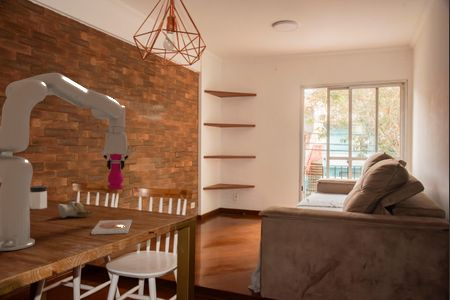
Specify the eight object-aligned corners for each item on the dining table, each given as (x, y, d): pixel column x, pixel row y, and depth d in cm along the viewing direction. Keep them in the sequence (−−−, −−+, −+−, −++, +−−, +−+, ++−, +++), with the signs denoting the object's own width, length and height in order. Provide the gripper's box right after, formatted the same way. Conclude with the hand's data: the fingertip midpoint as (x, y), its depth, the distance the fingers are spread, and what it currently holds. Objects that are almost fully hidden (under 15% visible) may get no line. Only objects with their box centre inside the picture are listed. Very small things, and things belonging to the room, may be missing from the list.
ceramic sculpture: (56, 198, 171) (87, 198, 180) (55, 216, 171) (86, 214, 180) (60, 202, 163) (93, 201, 172) (59, 220, 163) (92, 218, 171)
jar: (39, 206, 199) (39, 185, 199) (50, 207, 196) (50, 186, 196) (25, 208, 191) (25, 187, 190) (36, 209, 188) (36, 187, 188)
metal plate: (127, 233, 140) (127, 229, 140) (91, 234, 138) (91, 231, 138) (131, 222, 160) (131, 219, 160) (100, 223, 157) (100, 220, 157)
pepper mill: (118, 189, 159) (119, 146, 159) (104, 189, 161) (105, 146, 161) (126, 188, 166) (127, 146, 167) (112, 187, 168) (113, 146, 168)
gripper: (96, 129, 159) (95, 169, 158) (134, 131, 162) (133, 169, 161) (99, 130, 166) (98, 168, 166) (135, 132, 169) (134, 169, 169)
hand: (115, 168), depth 164 cm, fingers closed on pepper mill, 5 cm apart
